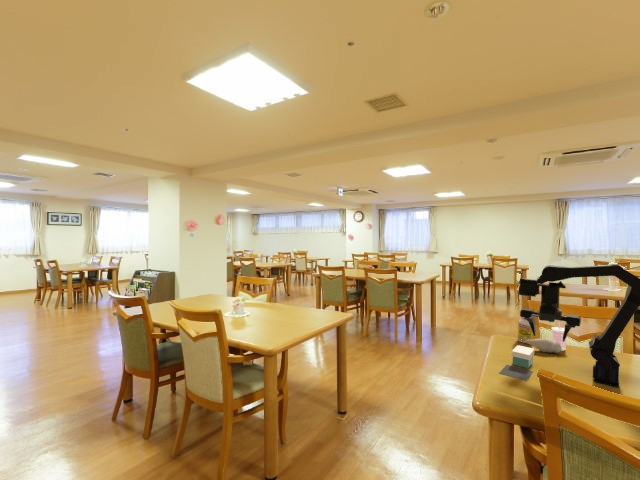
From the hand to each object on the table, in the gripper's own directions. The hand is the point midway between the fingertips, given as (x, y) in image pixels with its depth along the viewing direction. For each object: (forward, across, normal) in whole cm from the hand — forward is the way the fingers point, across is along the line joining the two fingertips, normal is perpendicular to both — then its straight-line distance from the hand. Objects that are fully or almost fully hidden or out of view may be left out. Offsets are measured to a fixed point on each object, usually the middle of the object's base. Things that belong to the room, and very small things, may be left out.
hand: (548, 338), depth 126 cm
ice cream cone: (+12, -5, +20) cm, 24 cm away
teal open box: (+12, -8, -2) cm, 15 cm away
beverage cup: (+12, 0, +30) cm, 32 cm away
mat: (+12, -8, -13) cm, 19 cm away
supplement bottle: (+12, -13, +30) cm, 35 cm away
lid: (+8, -8, -2) cm, 11 cm away
